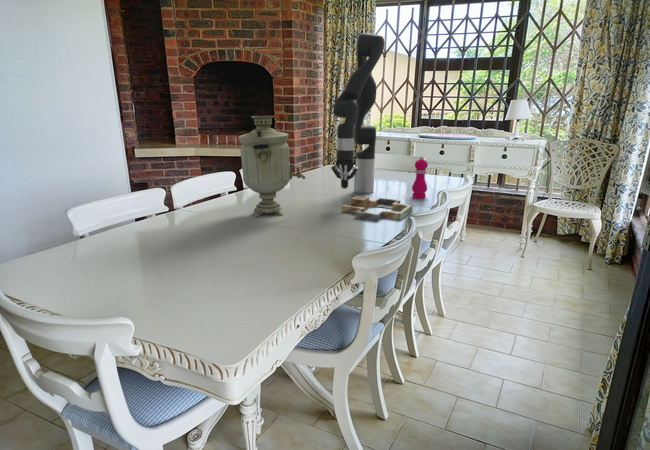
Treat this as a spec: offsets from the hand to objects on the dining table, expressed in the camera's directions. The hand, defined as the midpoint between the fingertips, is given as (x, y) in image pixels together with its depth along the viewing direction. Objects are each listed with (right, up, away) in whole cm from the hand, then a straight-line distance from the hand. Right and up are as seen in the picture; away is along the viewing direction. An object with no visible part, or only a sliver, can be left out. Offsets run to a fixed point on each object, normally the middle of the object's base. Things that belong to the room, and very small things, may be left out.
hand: (344, 188), depth 187 cm
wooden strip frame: (+14, -10, -4) cm, 18 cm away
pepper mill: (+37, -3, +20) cm, 42 cm away
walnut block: (+7, -9, 0) cm, 11 cm away
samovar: (-30, -12, -7) cm, 33 cm away
